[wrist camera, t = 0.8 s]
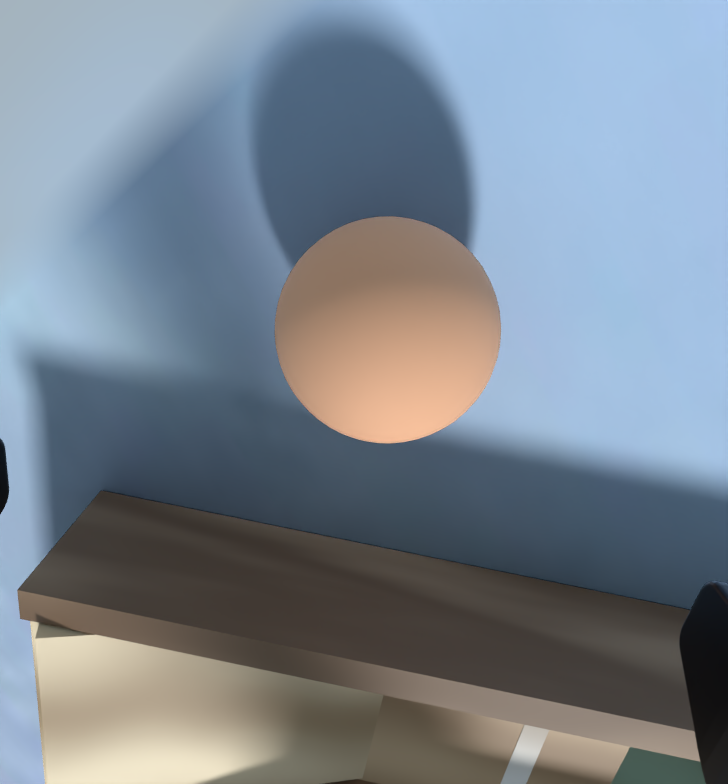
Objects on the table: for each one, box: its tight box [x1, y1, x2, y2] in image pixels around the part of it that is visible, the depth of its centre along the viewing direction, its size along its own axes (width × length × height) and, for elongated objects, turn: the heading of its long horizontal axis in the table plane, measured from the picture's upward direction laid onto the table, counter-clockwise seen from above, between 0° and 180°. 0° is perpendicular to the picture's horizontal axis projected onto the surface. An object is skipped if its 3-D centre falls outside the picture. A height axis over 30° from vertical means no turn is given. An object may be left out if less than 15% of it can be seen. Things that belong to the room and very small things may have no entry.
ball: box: [275, 216, 501, 443], centre depth 15 cm, size 5×5×5 cm
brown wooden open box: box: [17, 491, 706, 784], centre depth 20 cm, size 10×26×5 cm, turn 81°
